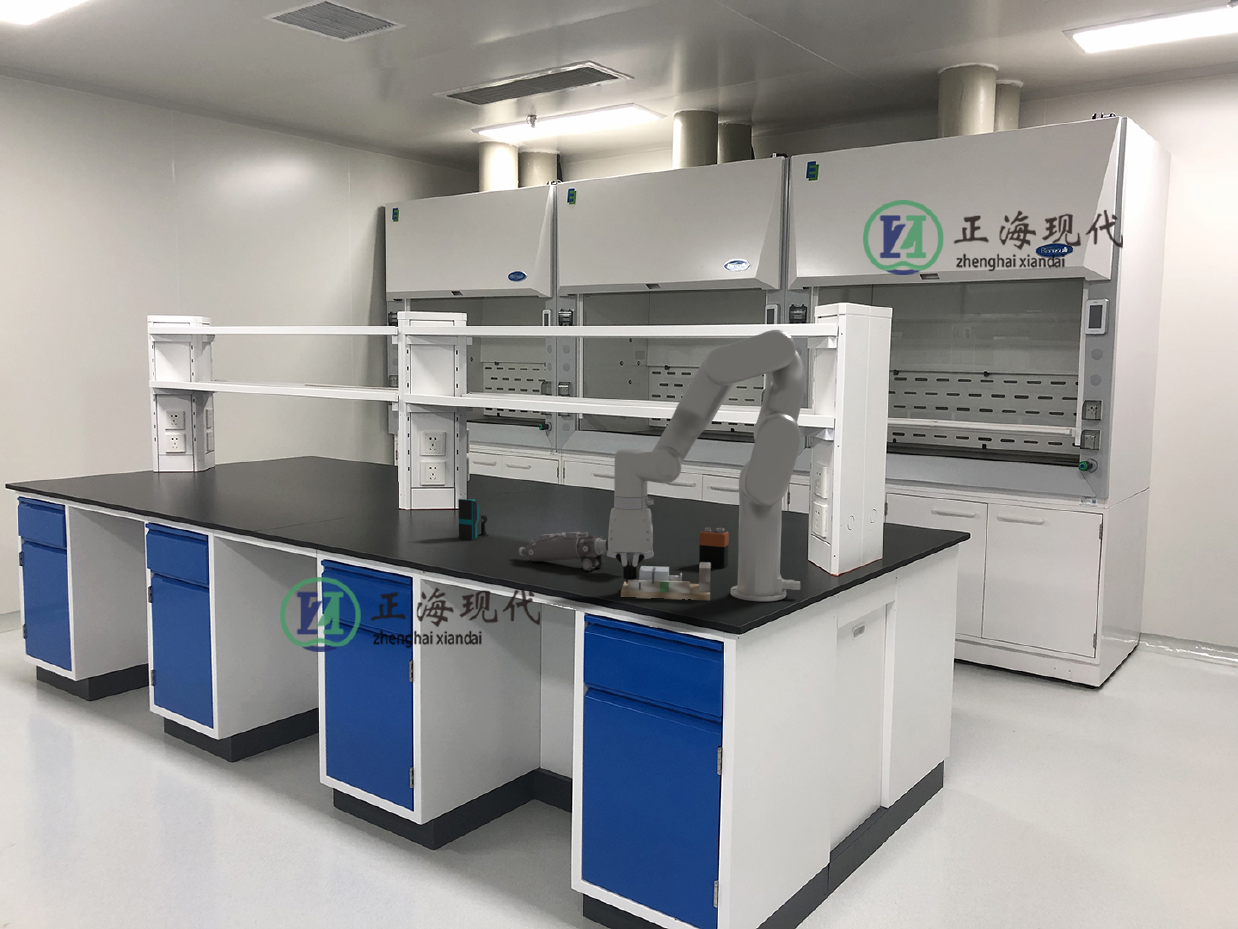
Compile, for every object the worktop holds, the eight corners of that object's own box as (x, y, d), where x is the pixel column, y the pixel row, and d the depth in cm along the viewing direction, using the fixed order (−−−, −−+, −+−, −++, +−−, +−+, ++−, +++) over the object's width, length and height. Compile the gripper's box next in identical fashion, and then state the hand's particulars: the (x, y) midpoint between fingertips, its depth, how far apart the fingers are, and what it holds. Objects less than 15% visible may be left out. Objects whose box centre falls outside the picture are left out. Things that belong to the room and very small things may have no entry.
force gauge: (681, 584, 216) (682, 565, 216) (680, 592, 209) (681, 573, 208) (640, 583, 217) (641, 564, 217) (638, 591, 209) (638, 571, 209)
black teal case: (493, 496, 282) (472, 500, 274) (493, 535, 284) (472, 541, 275) (478, 494, 285) (457, 499, 276) (478, 533, 286) (457, 539, 278)
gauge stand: (709, 590, 218) (710, 561, 217) (709, 600, 209) (710, 569, 208) (624, 587, 220) (624, 558, 219) (620, 597, 211) (621, 567, 210)
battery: (723, 568, 241) (724, 530, 240) (698, 566, 244) (699, 528, 243) (728, 565, 245) (729, 527, 244) (703, 563, 248) (704, 525, 247)
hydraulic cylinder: (634, 569, 229) (628, 529, 229) (514, 575, 248) (509, 538, 247) (648, 564, 235) (643, 525, 235) (530, 570, 254) (525, 533, 254)
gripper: (664, 501, 216) (663, 579, 218) (600, 500, 217) (599, 577, 219) (662, 506, 208) (661, 587, 210) (596, 505, 210) (595, 585, 212)
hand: (630, 582), depth 215 cm, fingers closed
